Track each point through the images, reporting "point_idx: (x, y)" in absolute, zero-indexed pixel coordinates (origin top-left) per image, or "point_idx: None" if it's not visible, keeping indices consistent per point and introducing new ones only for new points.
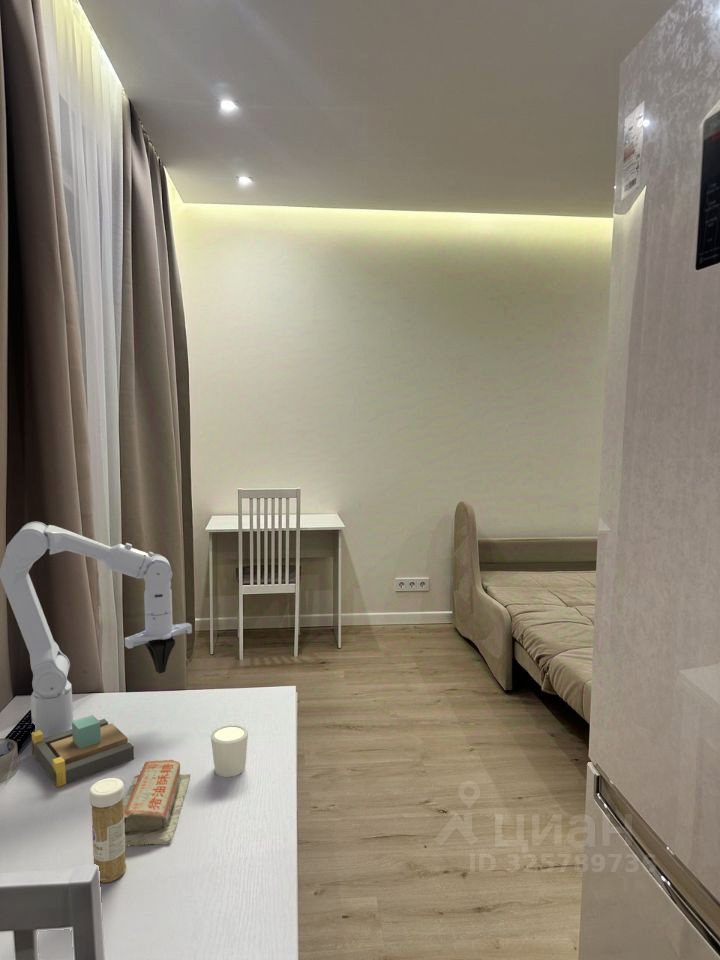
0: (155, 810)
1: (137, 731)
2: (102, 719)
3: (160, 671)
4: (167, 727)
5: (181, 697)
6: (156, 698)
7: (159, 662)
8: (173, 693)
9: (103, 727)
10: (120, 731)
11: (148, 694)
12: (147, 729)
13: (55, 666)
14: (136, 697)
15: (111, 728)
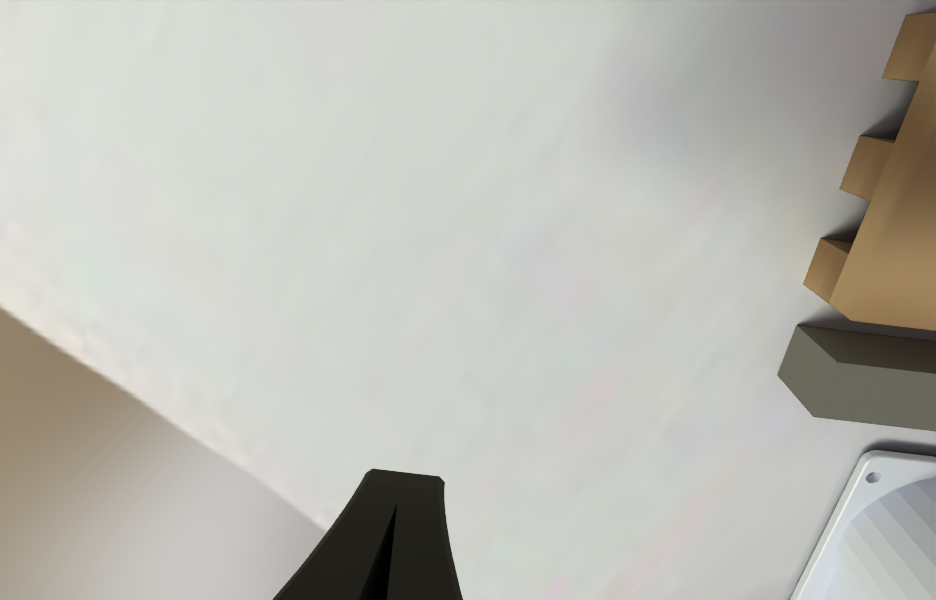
0: None
1: (678, 219)
2: (829, 415)
3: (433, 489)
4: (522, 113)
5: (250, 392)
6: None
7: (441, 595)
8: (265, 461)
9: (930, 308)
10: (923, 159)
11: None
12: (623, 194)
13: None
14: None
15: (916, 254)
